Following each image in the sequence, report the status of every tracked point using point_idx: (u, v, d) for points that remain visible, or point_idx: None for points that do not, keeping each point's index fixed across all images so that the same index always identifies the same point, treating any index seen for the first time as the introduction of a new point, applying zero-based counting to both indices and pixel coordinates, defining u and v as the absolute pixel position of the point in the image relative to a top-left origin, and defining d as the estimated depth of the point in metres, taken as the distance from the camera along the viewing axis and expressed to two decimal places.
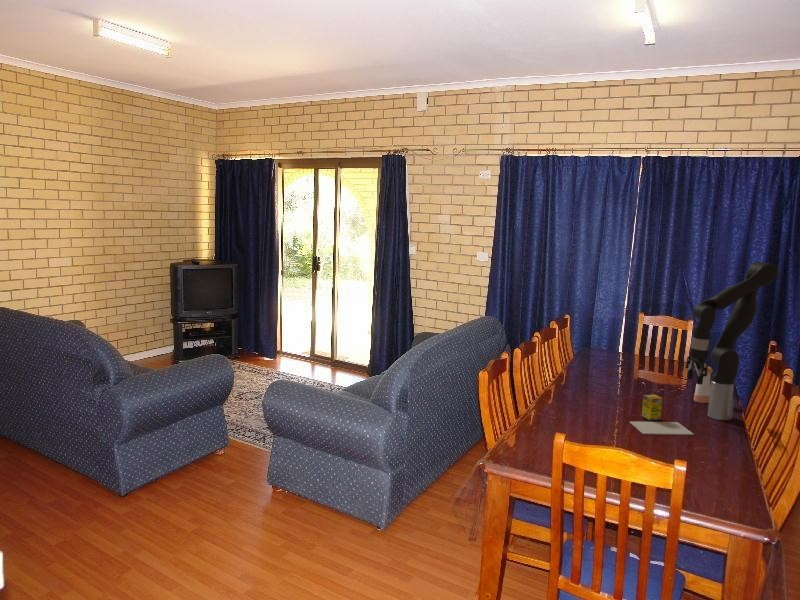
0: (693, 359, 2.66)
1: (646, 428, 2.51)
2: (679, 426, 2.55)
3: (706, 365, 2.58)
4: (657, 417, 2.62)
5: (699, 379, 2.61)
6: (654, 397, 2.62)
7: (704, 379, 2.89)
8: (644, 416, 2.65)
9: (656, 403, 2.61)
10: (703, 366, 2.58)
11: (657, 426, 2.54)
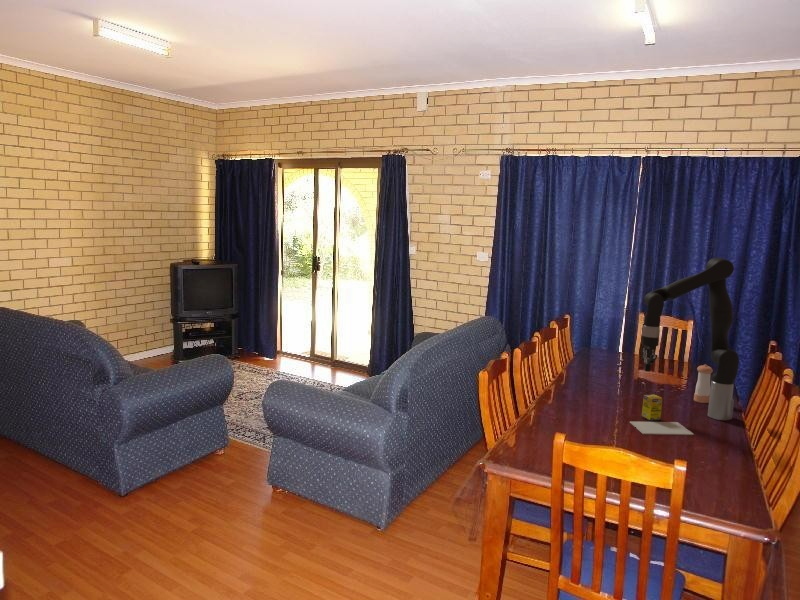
0: (645, 347, 2.69)
1: (646, 428, 2.51)
2: (679, 426, 2.55)
3: (655, 357, 2.63)
4: (657, 417, 2.62)
5: (647, 366, 2.68)
6: (654, 397, 2.62)
7: (704, 379, 2.89)
8: (644, 416, 2.65)
9: (656, 403, 2.61)
10: (652, 357, 2.63)
11: (657, 426, 2.54)
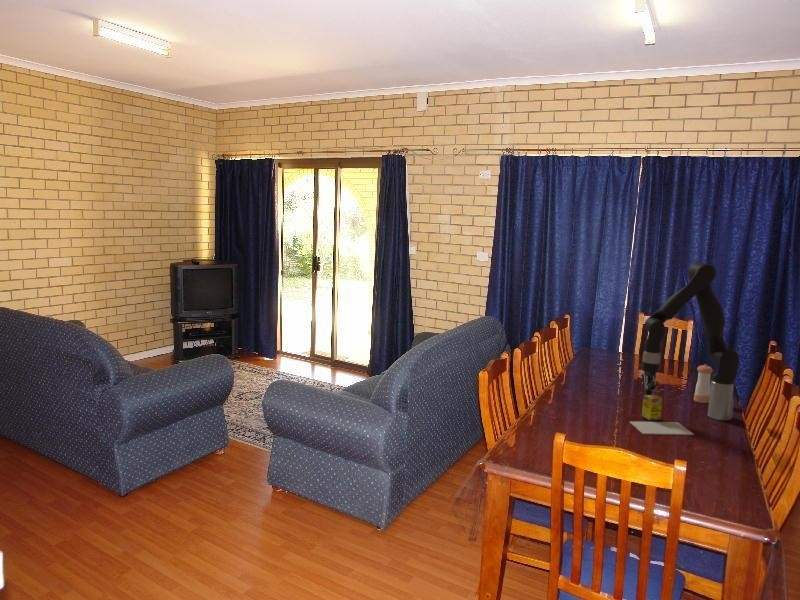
0: (646, 372, 2.68)
1: (646, 428, 2.51)
2: (679, 426, 2.55)
3: (656, 383, 2.61)
4: (657, 417, 2.62)
5: (647, 392, 2.67)
6: (654, 397, 2.62)
7: (704, 379, 2.89)
8: (644, 416, 2.65)
9: (656, 403, 2.61)
10: (652, 384, 2.62)
11: (657, 426, 2.54)
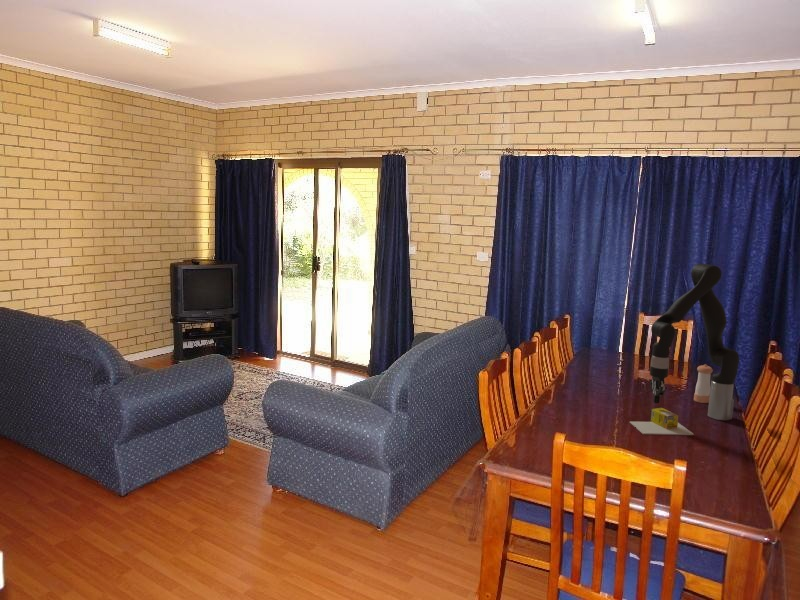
0: (654, 377, 2.60)
1: (646, 428, 2.51)
2: (679, 426, 2.55)
3: (664, 389, 2.53)
4: None
5: (656, 398, 2.58)
6: (671, 425, 2.51)
7: (704, 379, 2.89)
8: (651, 413, 2.60)
9: None
10: (661, 389, 2.53)
11: (657, 426, 2.54)
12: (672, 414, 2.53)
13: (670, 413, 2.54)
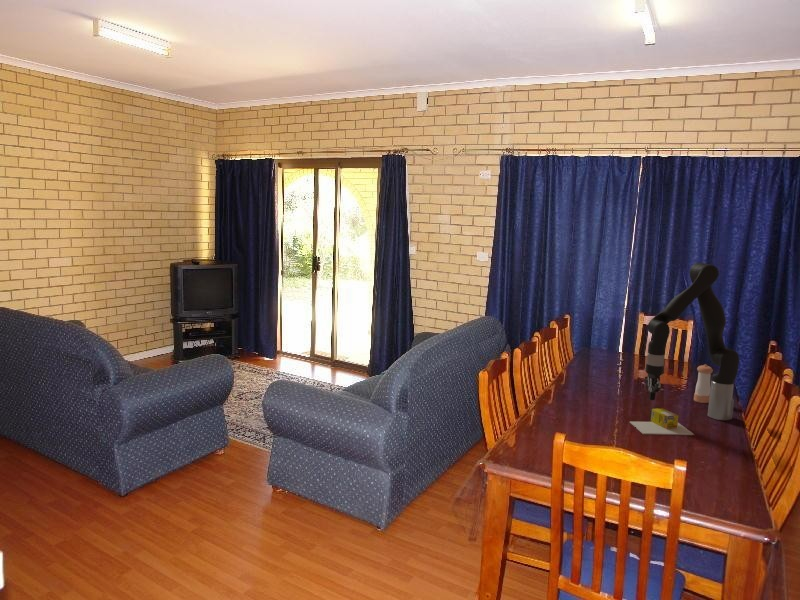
0: (650, 375, 2.64)
1: (646, 428, 2.51)
2: (679, 426, 2.55)
3: (660, 386, 2.57)
4: None
5: (651, 395, 2.63)
6: (671, 425, 2.51)
7: (704, 379, 2.89)
8: (651, 413, 2.60)
9: None
10: (657, 387, 2.58)
11: (657, 426, 2.54)
12: (672, 414, 2.53)
13: (670, 413, 2.54)
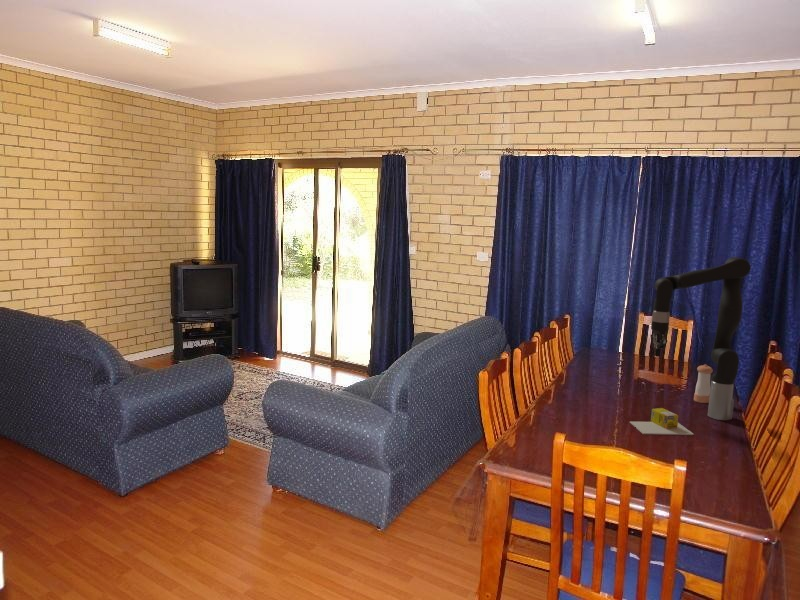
0: (655, 332, 2.72)
1: (646, 428, 2.51)
2: (679, 426, 2.55)
3: (665, 342, 2.66)
4: None
5: (657, 351, 2.71)
6: (671, 425, 2.51)
7: (704, 379, 2.89)
8: (651, 413, 2.60)
9: None
10: (662, 342, 2.66)
11: (657, 426, 2.54)
12: (672, 414, 2.53)
13: (670, 413, 2.54)
